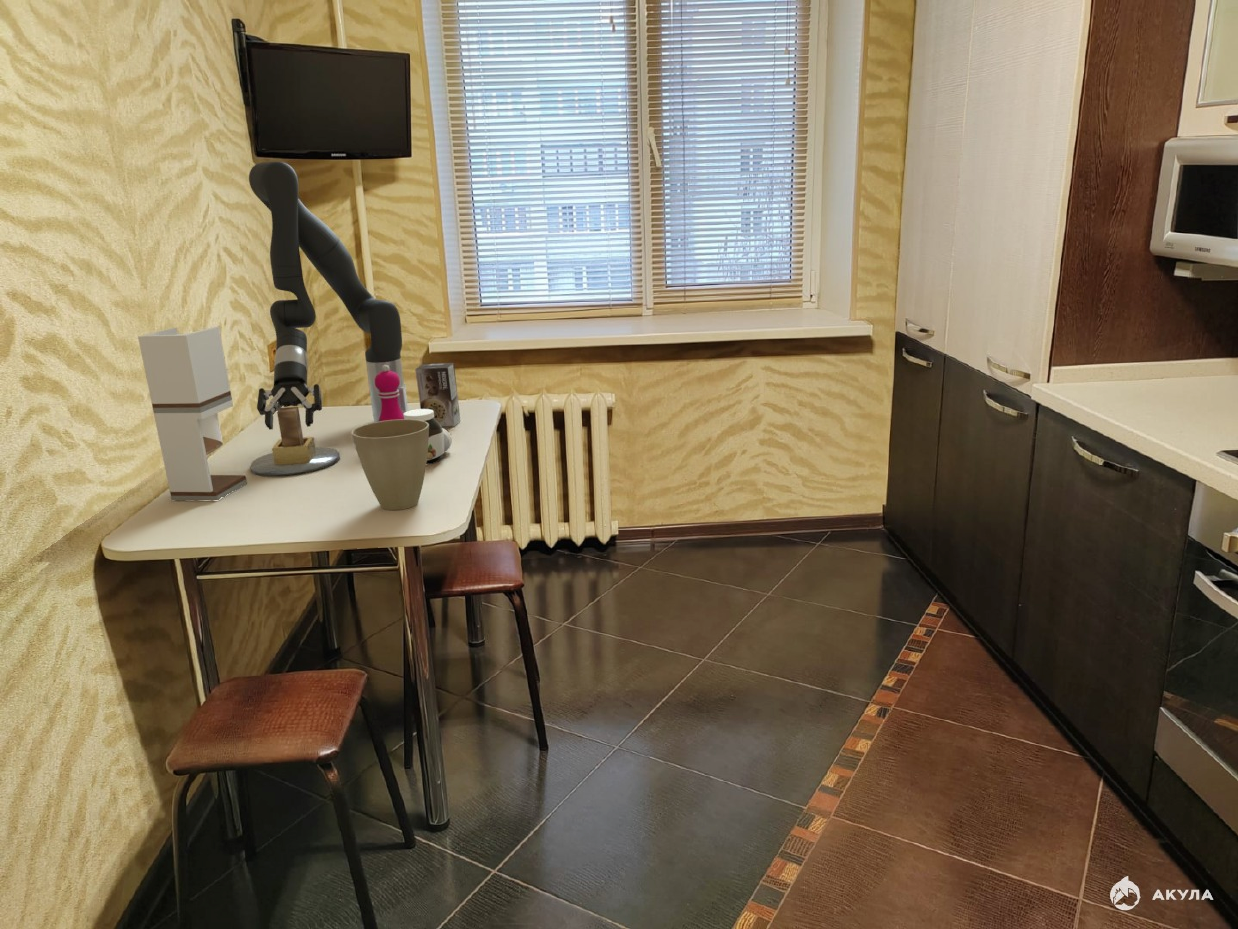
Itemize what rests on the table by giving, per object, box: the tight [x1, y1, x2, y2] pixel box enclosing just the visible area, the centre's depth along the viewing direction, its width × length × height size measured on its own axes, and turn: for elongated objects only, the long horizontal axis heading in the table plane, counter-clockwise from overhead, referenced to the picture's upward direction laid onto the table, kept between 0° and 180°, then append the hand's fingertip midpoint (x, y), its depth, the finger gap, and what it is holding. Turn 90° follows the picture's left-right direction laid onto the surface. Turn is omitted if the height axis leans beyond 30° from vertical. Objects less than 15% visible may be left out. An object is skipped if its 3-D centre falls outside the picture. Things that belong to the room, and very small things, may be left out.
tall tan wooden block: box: [276, 406, 304, 447], centre depth 213 cm, size 4×4×12 cm
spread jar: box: [404, 408, 453, 465], centre depth 212 cm, size 12×11×12 cm
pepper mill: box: [375, 365, 404, 422], centre depth 225 cm, size 7×7×20 cm
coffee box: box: [414, 362, 461, 428], centre depth 242 cm, size 9×6×16 cm
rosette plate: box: [250, 436, 341, 478], centre depth 214 cm, size 20×20×5 cm
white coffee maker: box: [137, 325, 248, 501], centre depth 191 cm, size 11×11×35 cm
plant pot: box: [351, 419, 429, 511], centre depth 181 cm, size 15×15×16 cm
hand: (289, 426), depth 211 cm, fingers open, 8 cm apart
